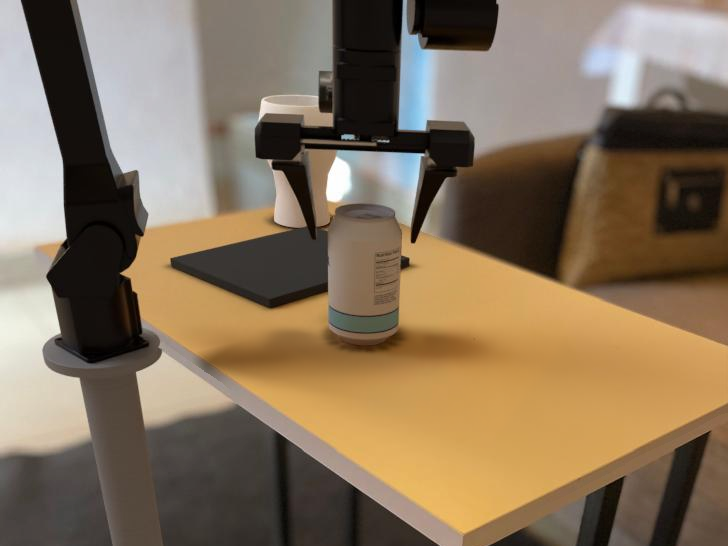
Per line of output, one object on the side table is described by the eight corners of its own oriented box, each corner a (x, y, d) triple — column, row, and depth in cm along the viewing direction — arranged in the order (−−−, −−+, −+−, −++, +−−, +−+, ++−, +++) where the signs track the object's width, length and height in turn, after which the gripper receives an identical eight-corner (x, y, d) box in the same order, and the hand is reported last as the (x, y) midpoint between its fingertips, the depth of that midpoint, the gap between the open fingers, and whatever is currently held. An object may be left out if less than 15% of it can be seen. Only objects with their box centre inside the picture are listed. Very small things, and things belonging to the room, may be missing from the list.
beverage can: (347, 318, 87) (348, 197, 80) (408, 330, 85) (414, 208, 78) (316, 341, 82) (313, 214, 75) (380, 355, 80) (384, 225, 73)
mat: (270, 308, 89) (269, 298, 88) (170, 266, 98) (169, 258, 98) (409, 265, 102) (409, 257, 102) (310, 232, 112) (310, 225, 111)
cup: (255, 228, 112) (247, 103, 104) (273, 208, 121) (268, 91, 112) (333, 234, 112) (332, 109, 103) (346, 213, 120) (346, 97, 112)
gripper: (469, 43, 76) (455, 220, 85) (262, 33, 75) (270, 214, 84) (483, 57, 67) (466, 254, 76) (248, 46, 66) (259, 247, 75)
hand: (363, 240), depth 78 cm, fingers open, 9 cm apart
